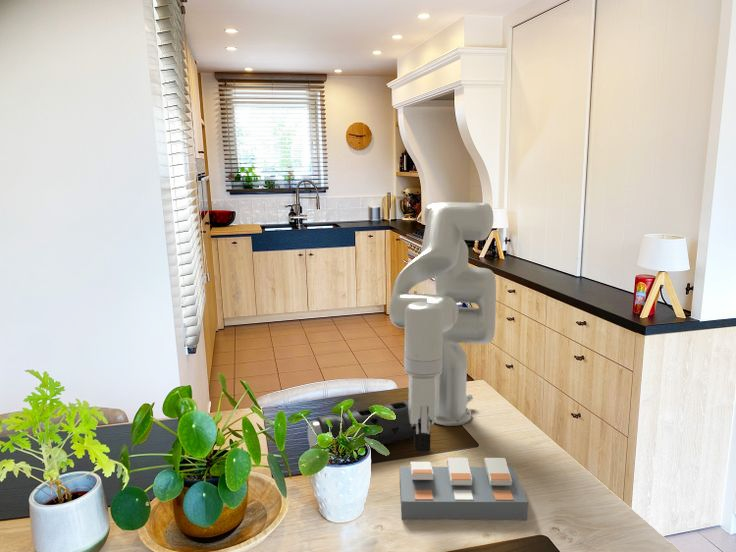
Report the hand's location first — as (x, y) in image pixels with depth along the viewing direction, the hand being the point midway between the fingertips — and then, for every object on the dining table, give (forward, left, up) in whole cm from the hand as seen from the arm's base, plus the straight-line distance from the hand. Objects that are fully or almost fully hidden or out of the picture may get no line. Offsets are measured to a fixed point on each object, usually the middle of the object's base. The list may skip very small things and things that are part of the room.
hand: (422, 449), depth 115 cm
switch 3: (-13, +11, -8) cm, 18 cm away
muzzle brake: (-10, -24, -13) cm, 29 cm away
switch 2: (-7, +4, -8) cm, 12 cm away
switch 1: (-2, -1, -8) cm, 8 cm away
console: (-6, +6, -12) cm, 15 cm away
